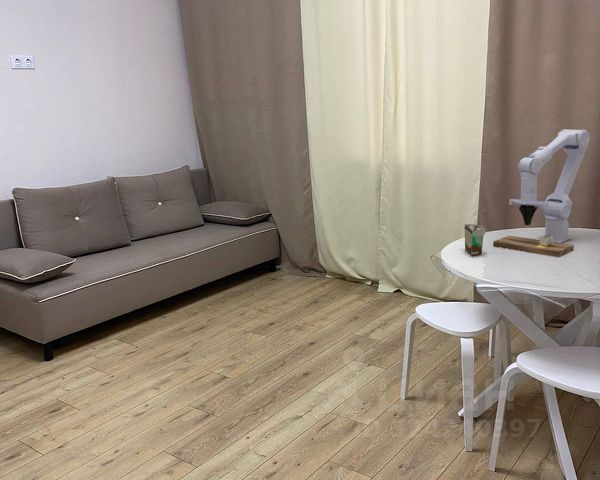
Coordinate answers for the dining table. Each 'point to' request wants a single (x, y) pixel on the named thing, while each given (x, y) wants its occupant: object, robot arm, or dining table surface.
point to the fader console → (533, 246)
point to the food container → (474, 239)
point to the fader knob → (546, 240)
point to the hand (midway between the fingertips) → (527, 224)
